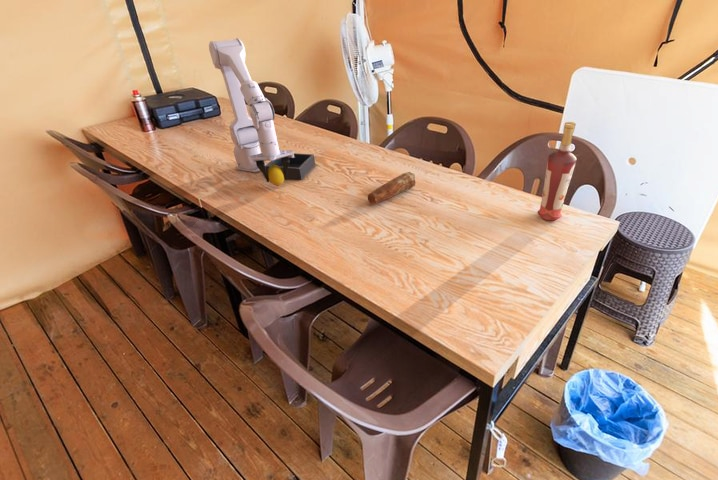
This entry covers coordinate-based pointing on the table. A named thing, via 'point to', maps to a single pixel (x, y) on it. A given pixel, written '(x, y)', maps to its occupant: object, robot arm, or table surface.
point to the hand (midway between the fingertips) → (276, 179)
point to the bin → (296, 165)
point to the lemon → (275, 175)
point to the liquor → (558, 177)
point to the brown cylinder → (392, 188)
